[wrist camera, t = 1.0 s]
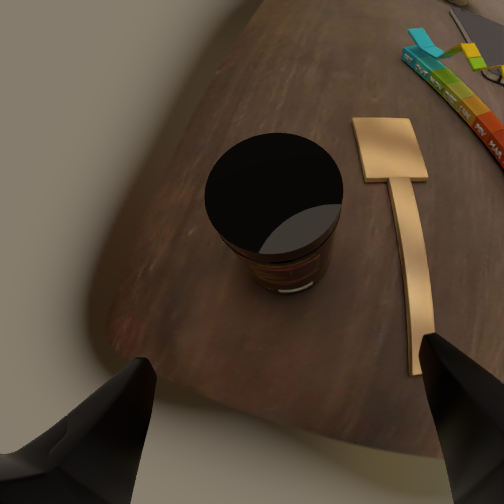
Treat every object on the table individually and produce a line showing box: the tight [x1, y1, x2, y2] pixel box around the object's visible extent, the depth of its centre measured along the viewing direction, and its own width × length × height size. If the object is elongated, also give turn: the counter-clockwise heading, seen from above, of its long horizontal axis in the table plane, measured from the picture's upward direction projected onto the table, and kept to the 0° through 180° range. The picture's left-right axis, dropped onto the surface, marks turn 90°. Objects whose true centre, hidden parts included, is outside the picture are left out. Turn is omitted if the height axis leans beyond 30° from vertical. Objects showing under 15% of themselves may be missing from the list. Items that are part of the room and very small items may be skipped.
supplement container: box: [205, 133, 343, 294], centre depth 19 cm, size 7×7×10 cm
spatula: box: [352, 118, 435, 375], centre depth 23 cm, size 23×6×1 cm, turn 0°
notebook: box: [450, 6, 504, 85], centre depth 27 cm, size 13×2×21 cm
